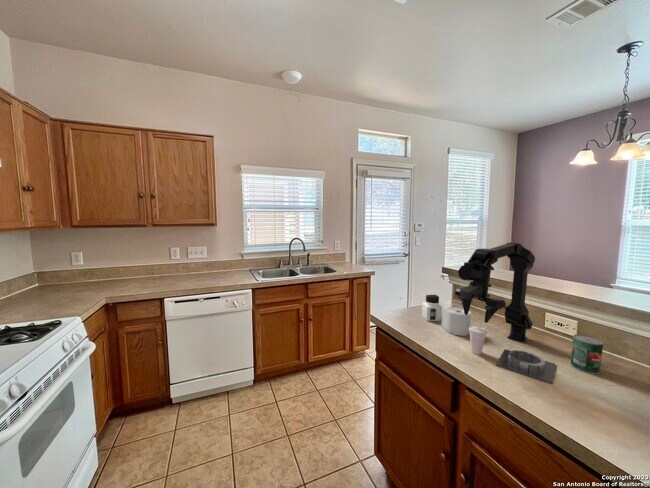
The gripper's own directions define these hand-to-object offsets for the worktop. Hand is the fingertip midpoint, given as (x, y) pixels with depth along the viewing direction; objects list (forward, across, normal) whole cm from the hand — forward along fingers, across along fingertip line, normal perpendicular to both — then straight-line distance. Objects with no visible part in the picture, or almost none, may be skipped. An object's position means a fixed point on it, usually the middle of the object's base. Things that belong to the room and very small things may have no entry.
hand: (475, 318), depth 109 cm
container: (+13, -35, +11) cm, 39 cm away
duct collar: (+13, +14, +11) cm, 22 cm away
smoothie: (+14, +1, +2) cm, 14 cm away
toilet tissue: (+13, -18, +11) cm, 25 cm away
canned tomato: (+11, +23, +30) cm, 39 cm away
